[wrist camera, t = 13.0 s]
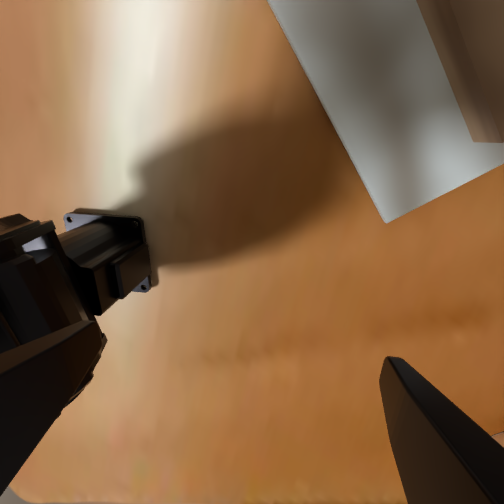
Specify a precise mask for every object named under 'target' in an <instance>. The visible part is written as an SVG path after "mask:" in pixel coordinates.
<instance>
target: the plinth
mask: <svg viewBox="0 0 504 504" xmlns="http://www.w3.org/2000/svg"><path fill="white" fill-rule="evenodd" d="M267 1H268V3H269V5H270V7H271V9H272V11H273V13H274V15H275V16H276V18H277V20H278V22H279V24H280V26H281V28H282V30H283V32H284V33H285V35H286V37H287V39H288V41H289V43H290V45H291V47H292V49H293V51H294V52H295V54H296V56H297V58H298V60H299V62H300V64H301V66H302V68H303V70H304V71H305V73H306V75H307V77H308V79H309V81H310V83H311V85H312V87H313V88H314V90H315V92H316V94H317V96H318V98H319V100H320V102H321V104H322V106H323V107H324V109H325V111H326V113H327V115H328V117H329V119H330V121H331V123H332V125H333V126H334V128H335V130H336V132H337V134H338V136H339V138H340V140H341V142H342V144H343V145H344V147H345V149H346V151H347V153H348V155H349V157H350V159H351V161H352V162H353V164H354V166H355V168H356V170H357V172H358V174H359V176H360V178H361V180H362V181H363V183H364V185H365V187H366V189H367V191H368V193H369V195H370V197H371V199H372V200H373V202H374V204H375V206H376V208H377V210H378V212H379V214H380V216H381V217H382V219H383V221H384V222H385V223H388V222H390V221H392V220H394V219H396V218H398V217H400V216H402V215H404V214H406V213H408V212H410V211H412V210H414V209H416V208H418V207H420V206H421V205H423V204H425V203H427V202H429V201H431V200H433V199H435V198H437V197H439V196H441V195H443V194H445V193H447V192H449V191H451V190H453V189H455V188H457V187H459V186H461V185H462V184H464V183H466V182H468V181H470V180H472V179H474V178H476V177H478V176H480V175H482V174H484V173H486V172H488V171H490V170H492V169H494V168H496V167H498V166H500V165H502V164H503V163H504V0H267Z"/></svg>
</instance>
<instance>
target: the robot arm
mask: <svg viewBox="0 0 504 504" xmlns="http://www.w3.org/2000/svg"><path fill="white" fill-rule="evenodd" d="M70 217H71V218H72V220H73V221H72V220H71V219H70ZM135 221H136V222H137V223H138V226H137V225H135V223H134V222H135ZM64 222H65V226H66V231H67V232H64V233H62V234H59V235H57V234H56V232H55V229H56V228H55V225H54V223H53V221H52V220H50V221H44V222H40V221H39V220H37V221H33V220H29V219H27V218H26V217H24V216H23V215H21V214H15V215H10V216H6V217H3V218H0V496H1V495H2V494H3V492H4V491H5V489H6V488H7V487H8V485H9V484H10V482H11V481H12V480H13V478H14V477H15V475H16V474H17V473H18V471H19V470H20V468H21V467H22V466H23V464H24V463H25V461H26V460H27V459H28V457H29V456H30V454H31V453H32V452H33V450H34V449H35V448H36V446H37V445H38V443H39V442H40V441H41V439H42V438H43V436H44V435H45V434H46V432H47V431H48V429H49V428H50V427H51V425H52V424H53V422H54V421H55V420H56V419H57V418H58V417H59V416H60V415H61V411H62V410H63V408H64V407H66V406H67V405H69V404H70V403H71V402H72V401H73V400H74V399H75V398H76V397H78V395H79V394H80V393H81V392H82V391H83V390H84V388H85V387H86V386H87V385H88V384H89V383H90V382H91V380H92V378H93V376H94V374H93V373H92V372H93V370H94V368H95V366H96V364H97V363H98V361H99V359H100V358H101V353H102V351H103V349H104V347H105V345H106V343H107V338H106V336H105V334H104V333H102V331H101V329H100V327H99V325H98V323H97V321H96V318H95V316H94V315H96V316H101V315H102V314H103V313H104V312H105V311H106V310H107V309H108V308H110V307H111V306H112V305H113V304H114V303H115V302H116V301H117V300H118V299H124V298H125V297H126V296H127V295H128V294H129V293H130V292H131V291H134V292H144V293H145V292H148V291H149V290H150V289H151V278H150V274H151V266H150V258H149V250H148V245H147V244H146V238H145V230H144V223H143V220H142V219H141V218H140V217H137V216H122V215H107V214H91V213H76V212H70V213H67V214H65V215H64ZM143 285H145V286H146V287H144V286H143ZM379 385H380V391H381V396H382V402H383V407H384V413H385V418H386V423H387V429H388V434H389V439H390V443H391V447H392V451H393V454H394V458H395V461H396V464H397V468H398V471H399V475H400V478H401V481H402V485H403V488H404V492H405V495H406V498H407V502H408V504H504V447H503V446H502V445H500V444H499V443H498V442H497V441H496V440H495V439H494V438H492V437H491V436H490V435H489V434H488V433H487V432H486V431H484V430H483V429H482V428H481V427H480V426H479V425H478V424H477V423H475V422H474V421H473V420H472V419H471V418H470V417H469V416H467V415H466V414H465V413H464V412H463V411H462V410H461V409H459V408H458V407H457V406H456V405H455V404H454V403H453V402H451V401H450V400H449V399H448V398H447V397H446V396H445V395H443V394H442V393H441V392H440V391H439V390H438V389H437V388H435V387H434V386H433V385H432V384H431V383H430V382H429V381H427V380H426V379H425V378H424V377H423V376H422V375H421V374H419V373H418V372H417V371H416V370H415V369H414V368H413V367H412V366H410V365H409V364H408V363H407V362H406V361H405V360H403V359H402V358H399V357H391V356H387V357H386V358H385V359H384V363H383V366H382V370H381V374H380V379H379Z"/></svg>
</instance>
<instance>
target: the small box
mask: <svg viewBox="0 0 504 504" xmlns="http://www.w3.org/2000/svg"><path fill="white" fill-rule="evenodd" d="M492 438H494V439H495V440H496V441H497V442H498V443H499V444H500V445H502V446H503V447H504V432H501V433H498V434H495V435H493V436H492Z"/></svg>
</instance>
